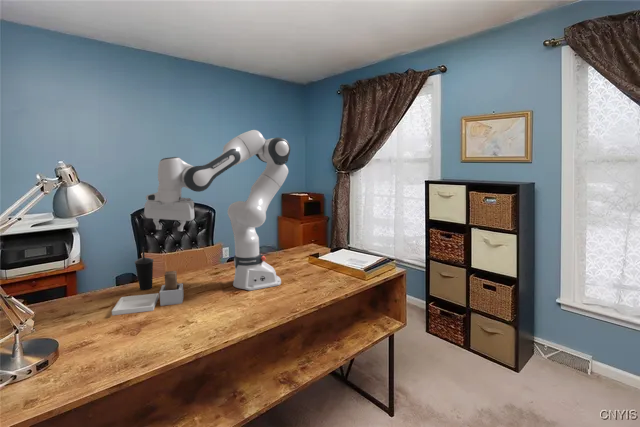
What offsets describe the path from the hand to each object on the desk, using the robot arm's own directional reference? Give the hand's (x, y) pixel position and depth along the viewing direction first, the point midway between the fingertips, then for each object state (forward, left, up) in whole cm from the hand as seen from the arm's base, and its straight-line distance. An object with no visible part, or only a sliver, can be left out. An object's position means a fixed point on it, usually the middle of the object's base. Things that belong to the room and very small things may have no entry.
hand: (169, 230), depth 141 cm
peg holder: (0, +5, -30) cm, 30 cm away
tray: (+13, +6, -30) cm, 33 cm away
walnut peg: (0, +5, -29) cm, 29 cm away
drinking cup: (+13, -14, -30) cm, 35 cm away
